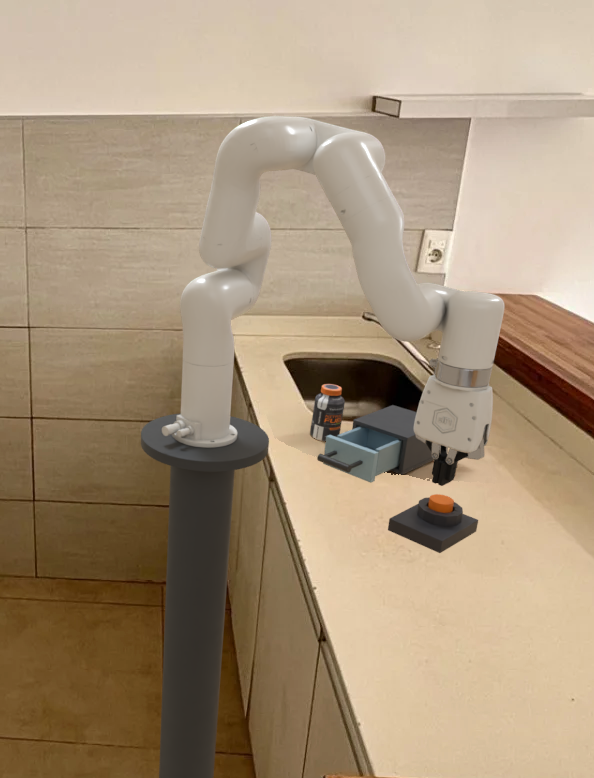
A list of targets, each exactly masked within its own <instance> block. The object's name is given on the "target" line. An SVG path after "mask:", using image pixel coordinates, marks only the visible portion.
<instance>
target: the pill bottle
mask: <svg viewBox="0 0 594 778" xmlns="http://www.w3.org/2000/svg"><path fill="white" fill-rule="evenodd" d="M342 391H343V388H342V386H339V385H337V384H334V383H324V384H322V385H321V389H320V393H318V394H316V396H315V399H314V404H313V410H312V417H311V423H310V430H309V435H310V436H311V438H313V439H314V438H315V440H317V441H321V442H325V441H326V436H328V435H332V436H335V437H337V435H339V434H341V429H342V421H343V416H344V411H345V403H346V401H345V399H344V397H343V396H342Z"/></svg>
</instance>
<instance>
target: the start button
mask: <svg viewBox="0 0 594 778" xmlns="http://www.w3.org/2000/svg"><path fill="white" fill-rule="evenodd" d="M429 497H430V499H429V504H428V507H429V508H430V509H432V510H434V511H437V512H442V513H451V512H452V510H453V505H454V502H455V500H454V499H453V498H452V497H451V496H448V495H445V494H440V493H439V494H438V493H436V494H431V495H430V496H429Z"/></svg>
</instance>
